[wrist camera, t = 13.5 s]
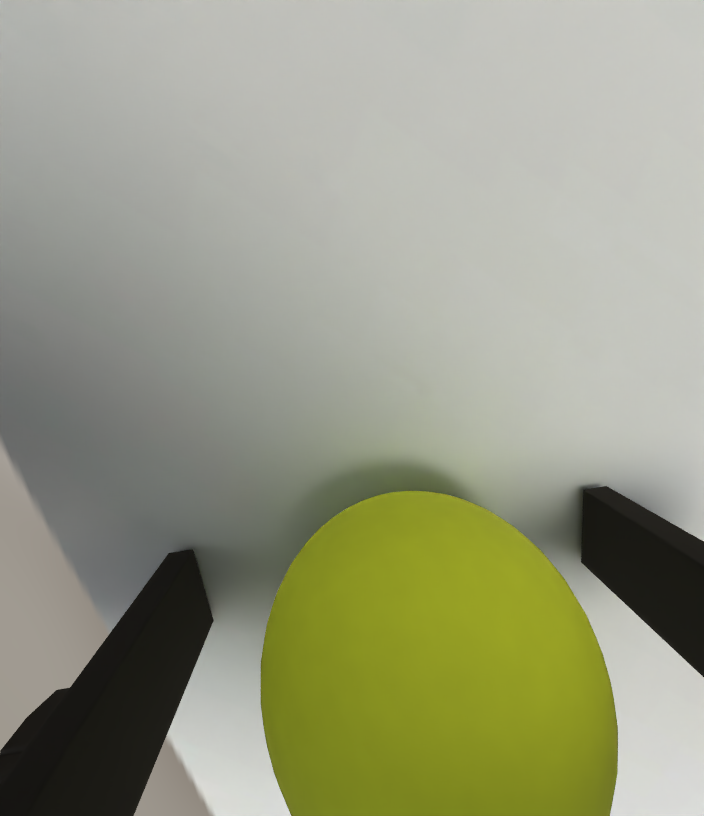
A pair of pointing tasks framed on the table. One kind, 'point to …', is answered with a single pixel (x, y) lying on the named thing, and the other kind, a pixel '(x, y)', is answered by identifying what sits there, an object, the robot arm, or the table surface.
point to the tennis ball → (434, 671)
